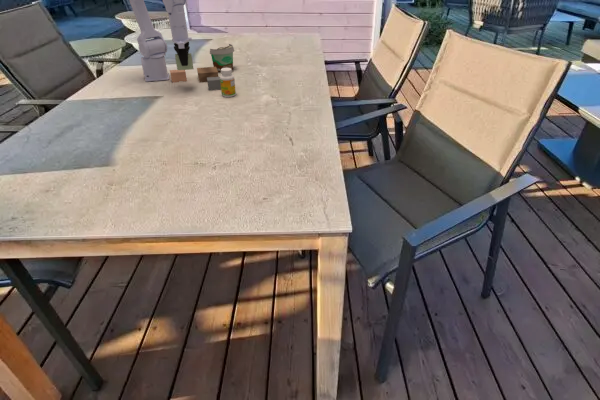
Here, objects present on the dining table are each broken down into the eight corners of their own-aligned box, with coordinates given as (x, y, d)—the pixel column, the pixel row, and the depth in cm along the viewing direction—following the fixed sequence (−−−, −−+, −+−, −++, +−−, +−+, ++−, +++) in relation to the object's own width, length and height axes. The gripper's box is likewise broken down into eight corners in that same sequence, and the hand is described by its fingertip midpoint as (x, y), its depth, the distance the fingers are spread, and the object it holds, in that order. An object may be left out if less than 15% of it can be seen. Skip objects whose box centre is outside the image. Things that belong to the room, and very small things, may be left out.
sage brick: (177, 70, 144) (175, 56, 141) (177, 67, 147) (175, 54, 144) (193, 69, 145) (191, 55, 143) (193, 66, 149) (191, 53, 146)
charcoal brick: (208, 90, 149) (207, 80, 147) (208, 87, 152) (206, 77, 150) (224, 89, 150) (222, 79, 148) (223, 86, 153) (222, 76, 151)
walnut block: (199, 83, 157) (198, 73, 154) (198, 77, 163) (196, 68, 161) (219, 81, 159) (217, 71, 156) (217, 75, 165) (215, 66, 163)
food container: (221, 75, 165) (219, 51, 159) (212, 72, 168) (209, 48, 162) (241, 68, 173) (239, 45, 167) (232, 66, 176) (229, 43, 170)
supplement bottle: (218, 95, 144) (215, 70, 138) (227, 91, 148) (224, 66, 142) (230, 98, 142) (227, 72, 136) (238, 94, 146) (236, 68, 140)
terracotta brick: (172, 82, 157) (170, 73, 154) (171, 79, 160) (169, 70, 157) (187, 81, 158) (185, 71, 156) (186, 78, 161) (184, 69, 159)
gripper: (190, 29, 133) (196, 68, 141) (189, 21, 144) (194, 58, 152) (169, 30, 131) (176, 69, 139) (169, 22, 143) (176, 59, 150)
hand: (184, 64), depth 145 cm, fingers closed on sage brick, 4 cm apart
